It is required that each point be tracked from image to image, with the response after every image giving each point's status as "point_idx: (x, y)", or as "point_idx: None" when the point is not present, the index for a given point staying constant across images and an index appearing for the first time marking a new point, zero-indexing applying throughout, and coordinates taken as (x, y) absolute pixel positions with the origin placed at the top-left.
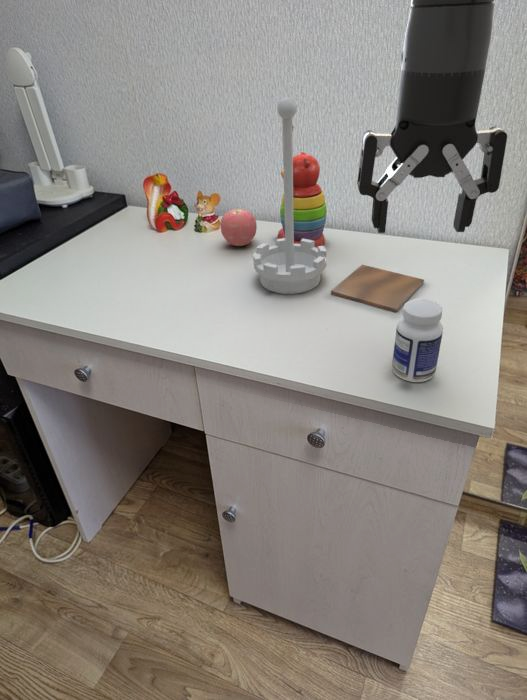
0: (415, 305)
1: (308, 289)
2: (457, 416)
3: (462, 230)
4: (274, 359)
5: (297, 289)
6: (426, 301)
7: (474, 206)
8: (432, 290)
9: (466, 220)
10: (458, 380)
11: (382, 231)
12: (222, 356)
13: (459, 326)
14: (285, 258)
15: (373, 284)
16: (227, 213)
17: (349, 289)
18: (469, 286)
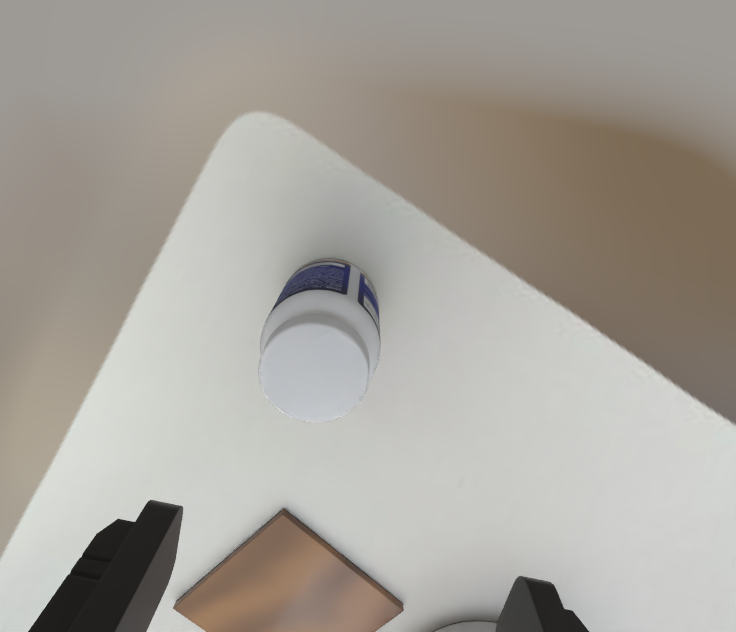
0: (329, 390)
1: (448, 628)
2: (298, 135)
3: (158, 504)
4: (612, 406)
5: (478, 630)
6: (289, 402)
7: (48, 608)
8: None
9: (125, 540)
10: (245, 250)
11: (537, 581)
12: (717, 440)
13: (162, 430)
14: None
15: (297, 614)
16: None
17: (359, 607)
18: None
